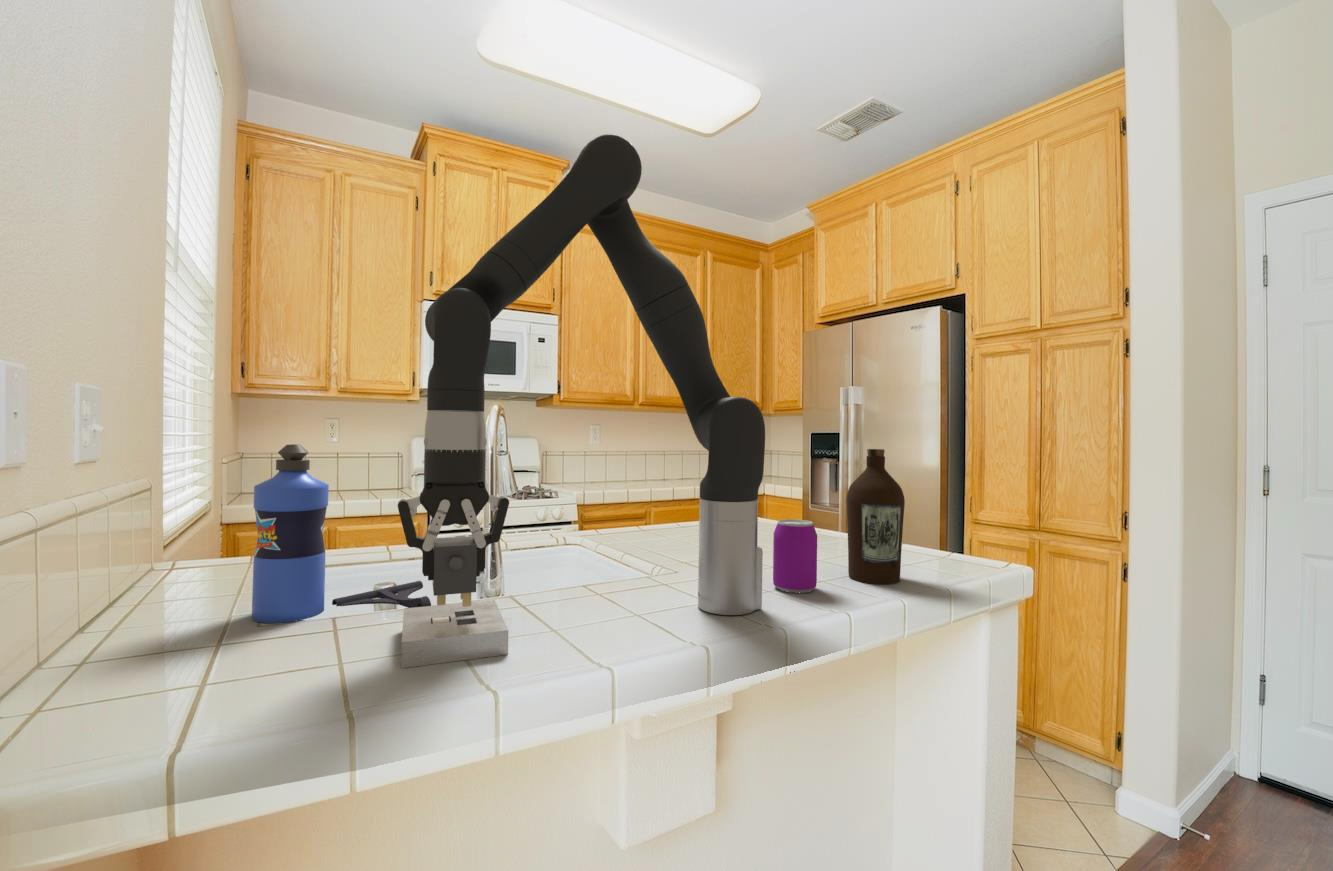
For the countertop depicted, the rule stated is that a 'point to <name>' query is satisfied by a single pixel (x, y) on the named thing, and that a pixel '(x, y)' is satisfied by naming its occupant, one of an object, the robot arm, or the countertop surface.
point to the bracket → (387, 596)
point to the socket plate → (452, 633)
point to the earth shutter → (440, 620)
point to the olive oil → (875, 523)
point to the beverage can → (795, 556)
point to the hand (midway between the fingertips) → (453, 576)
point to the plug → (455, 568)
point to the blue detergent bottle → (289, 542)
